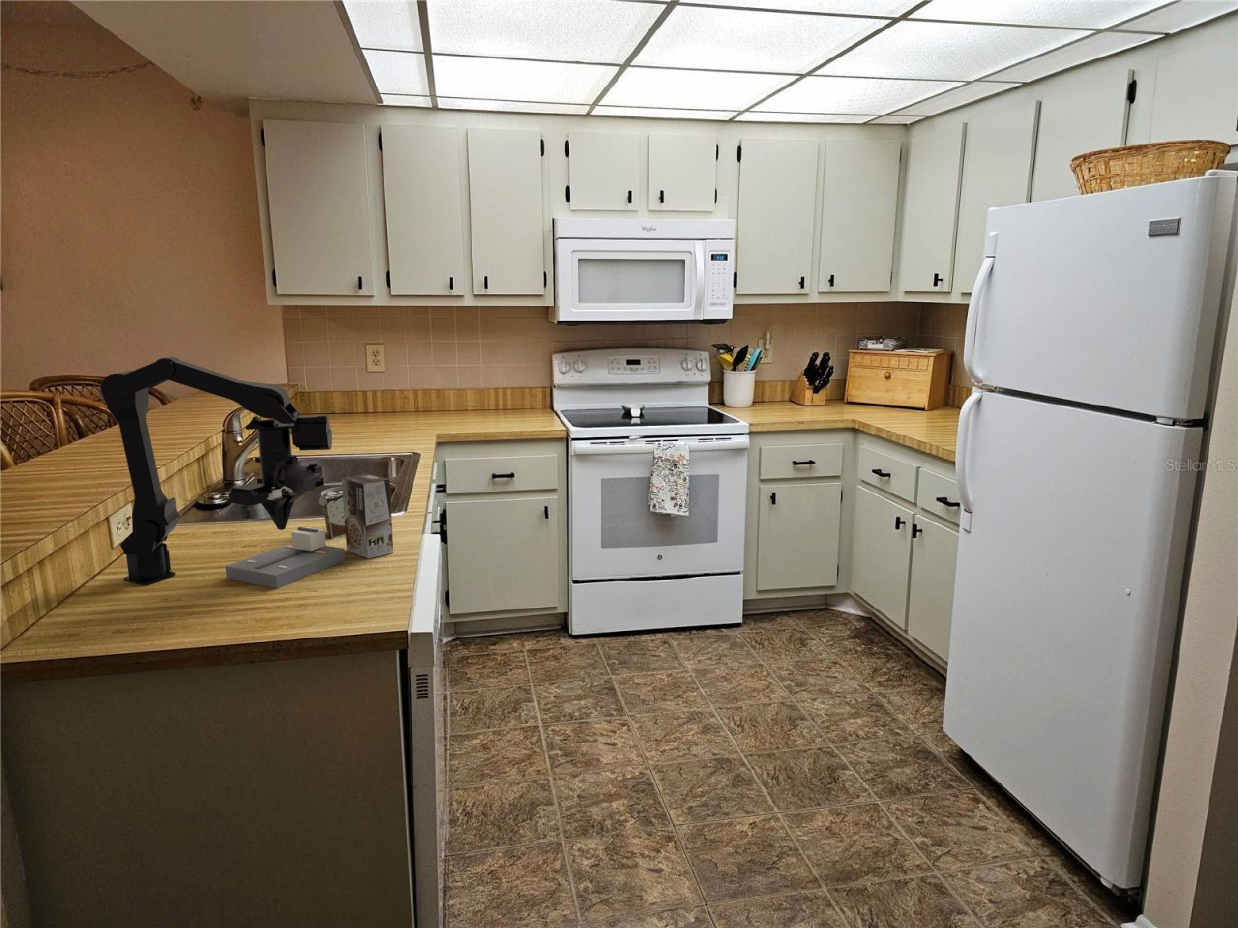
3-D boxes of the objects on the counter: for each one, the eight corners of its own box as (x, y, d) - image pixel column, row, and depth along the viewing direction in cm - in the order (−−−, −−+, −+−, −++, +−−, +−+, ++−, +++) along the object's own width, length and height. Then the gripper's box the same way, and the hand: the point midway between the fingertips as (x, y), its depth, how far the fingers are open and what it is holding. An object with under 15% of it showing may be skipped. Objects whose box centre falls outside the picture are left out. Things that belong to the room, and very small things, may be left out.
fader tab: (311, 551, 164) (309, 532, 163) (292, 548, 166) (291, 529, 165) (325, 545, 167) (324, 527, 166) (307, 542, 169) (305, 524, 168)
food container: (355, 523, 194) (353, 483, 192) (371, 528, 191) (369, 486, 189) (310, 535, 184) (306, 492, 182) (326, 540, 181) (323, 496, 179)
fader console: (277, 588, 151) (276, 574, 150) (226, 578, 156) (225, 565, 155) (345, 560, 167) (344, 547, 167) (297, 552, 172) (296, 540, 172)
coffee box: (394, 552, 172) (391, 478, 169) (367, 559, 168) (363, 483, 165) (372, 543, 179) (368, 472, 175) (345, 550, 174) (340, 477, 171)
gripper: (268, 463, 144) (275, 547, 147) (342, 446, 161) (347, 522, 164) (223, 458, 149) (231, 540, 152) (299, 442, 165) (305, 516, 169)
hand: (281, 529), depth 159 cm, fingers closed
